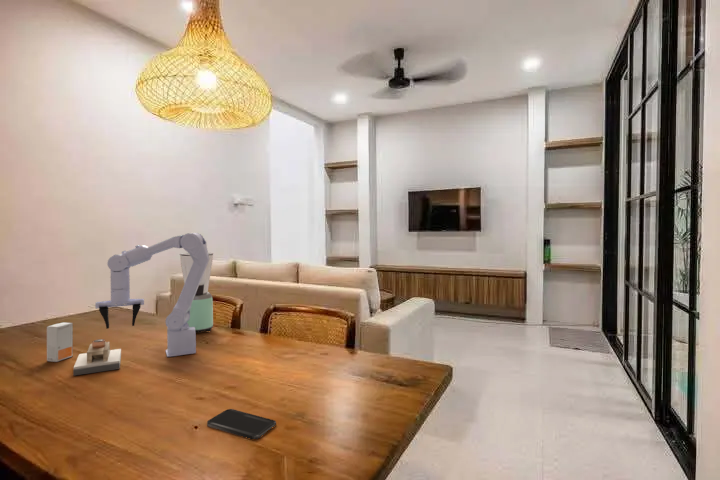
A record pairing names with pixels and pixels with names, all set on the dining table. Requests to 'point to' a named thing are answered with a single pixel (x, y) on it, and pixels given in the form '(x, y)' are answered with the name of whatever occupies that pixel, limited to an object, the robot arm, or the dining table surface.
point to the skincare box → (59, 341)
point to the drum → (98, 343)
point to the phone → (241, 423)
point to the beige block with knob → (98, 353)
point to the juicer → (199, 296)
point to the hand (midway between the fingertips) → (120, 326)
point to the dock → (97, 363)
